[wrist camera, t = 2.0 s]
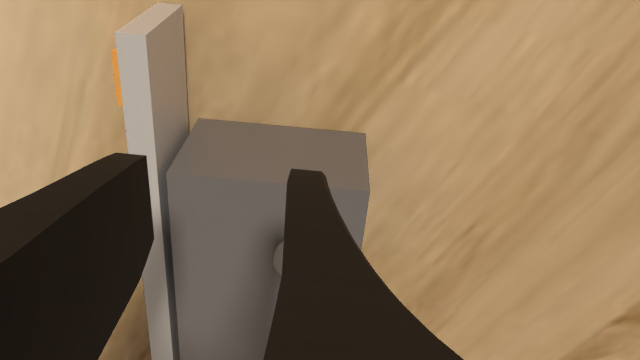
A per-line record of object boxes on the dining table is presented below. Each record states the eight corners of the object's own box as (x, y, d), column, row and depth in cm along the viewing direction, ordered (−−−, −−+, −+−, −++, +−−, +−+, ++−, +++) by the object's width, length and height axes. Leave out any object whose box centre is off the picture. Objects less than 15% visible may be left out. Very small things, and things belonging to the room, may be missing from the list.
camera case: (336, 345, 25) (335, 435, 21) (206, 334, 25) (180, 421, 21) (365, 133, 19) (370, 200, 15) (198, 118, 19) (161, 181, 15)
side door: (198, 332, 24) (176, 400, 21) (171, 330, 24) (146, 398, 21) (182, 5, 17) (145, 35, 14) (144, 1, 17) (99, 31, 14)
